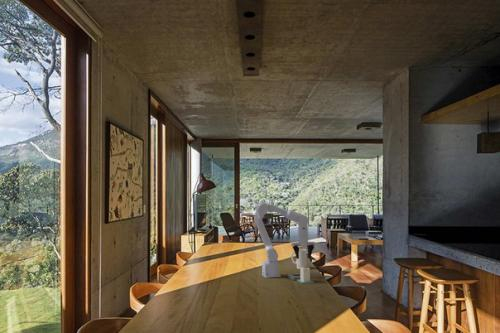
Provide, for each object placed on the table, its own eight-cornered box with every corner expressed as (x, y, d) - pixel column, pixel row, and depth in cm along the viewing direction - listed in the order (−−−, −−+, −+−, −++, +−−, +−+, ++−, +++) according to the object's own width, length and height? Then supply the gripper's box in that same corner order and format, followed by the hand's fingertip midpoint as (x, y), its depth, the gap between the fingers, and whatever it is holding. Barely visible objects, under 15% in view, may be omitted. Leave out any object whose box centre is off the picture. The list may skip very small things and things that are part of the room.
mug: (307, 267, 257) (306, 249, 258) (306, 269, 251) (306, 250, 251) (291, 266, 259) (291, 248, 260) (290, 269, 253) (290, 250, 253)
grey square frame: (292, 280, 222) (292, 277, 222) (287, 276, 231) (287, 274, 231) (307, 279, 225) (307, 276, 225) (301, 275, 233) (301, 273, 233)
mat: (302, 283, 214) (302, 282, 215) (297, 280, 221) (297, 279, 221) (313, 282, 216) (313, 281, 216) (308, 279, 223) (308, 278, 223)
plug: (303, 281, 217) (303, 268, 217) (300, 280, 220) (300, 266, 221) (310, 281, 218) (309, 267, 218) (306, 279, 222) (306, 266, 222)
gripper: (294, 236, 229) (294, 260, 228) (317, 235, 233) (317, 258, 232) (289, 235, 235) (290, 257, 235) (312, 234, 239) (312, 256, 239)
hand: (303, 258), depth 234 cm, fingers open, 7 cm apart
